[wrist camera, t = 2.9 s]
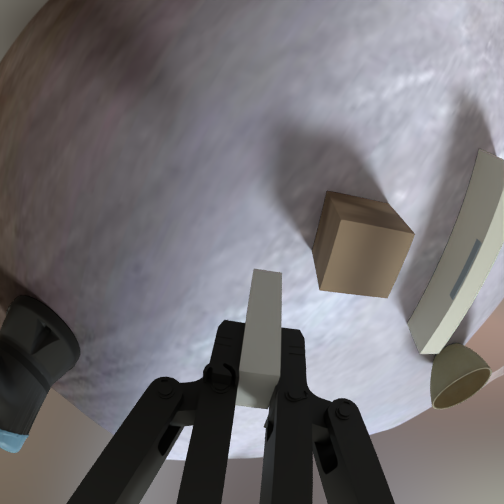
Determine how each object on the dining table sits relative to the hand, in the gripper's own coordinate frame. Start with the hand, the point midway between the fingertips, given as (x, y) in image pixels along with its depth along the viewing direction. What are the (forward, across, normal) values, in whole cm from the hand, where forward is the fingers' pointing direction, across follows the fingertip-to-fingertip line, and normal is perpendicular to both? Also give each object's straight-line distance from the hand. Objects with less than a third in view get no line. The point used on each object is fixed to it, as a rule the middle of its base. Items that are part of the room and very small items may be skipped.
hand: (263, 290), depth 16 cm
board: (+11, +20, 0) cm, 23 cm away
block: (+11, +8, 0) cm, 13 cm away
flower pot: (+11, +30, -17) cm, 37 cm away
